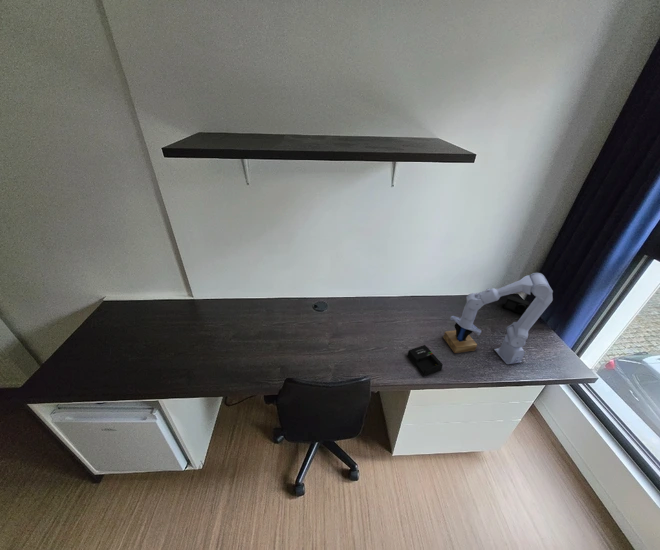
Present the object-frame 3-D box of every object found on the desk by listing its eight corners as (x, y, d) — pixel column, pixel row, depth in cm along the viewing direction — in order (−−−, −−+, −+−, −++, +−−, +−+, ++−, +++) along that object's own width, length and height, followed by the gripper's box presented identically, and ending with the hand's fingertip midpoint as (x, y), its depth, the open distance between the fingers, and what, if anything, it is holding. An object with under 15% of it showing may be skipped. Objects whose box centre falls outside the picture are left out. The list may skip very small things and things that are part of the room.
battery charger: (407, 355, 139) (408, 349, 137) (423, 350, 142) (425, 344, 140) (423, 376, 129) (425, 370, 126) (441, 370, 132) (443, 364, 130)
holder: (475, 350, 142) (477, 344, 140) (454, 353, 140) (456, 347, 138) (462, 334, 151) (464, 329, 149) (443, 337, 150) (444, 331, 147)
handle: (463, 341, 145) (468, 328, 140) (460, 344, 143) (465, 330, 138) (458, 338, 147) (462, 325, 142) (455, 341, 145) (460, 327, 140)
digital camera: (503, 309, 170) (507, 299, 166) (504, 304, 174) (508, 295, 170) (523, 315, 165) (528, 306, 161) (524, 310, 169) (528, 301, 165)
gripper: (487, 320, 134) (478, 341, 141) (458, 305, 143) (451, 326, 150) (480, 327, 130) (472, 348, 137) (450, 311, 139) (444, 332, 146)
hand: (460, 337), depth 144 cm, fingers closed on handle, 3 cm apart
